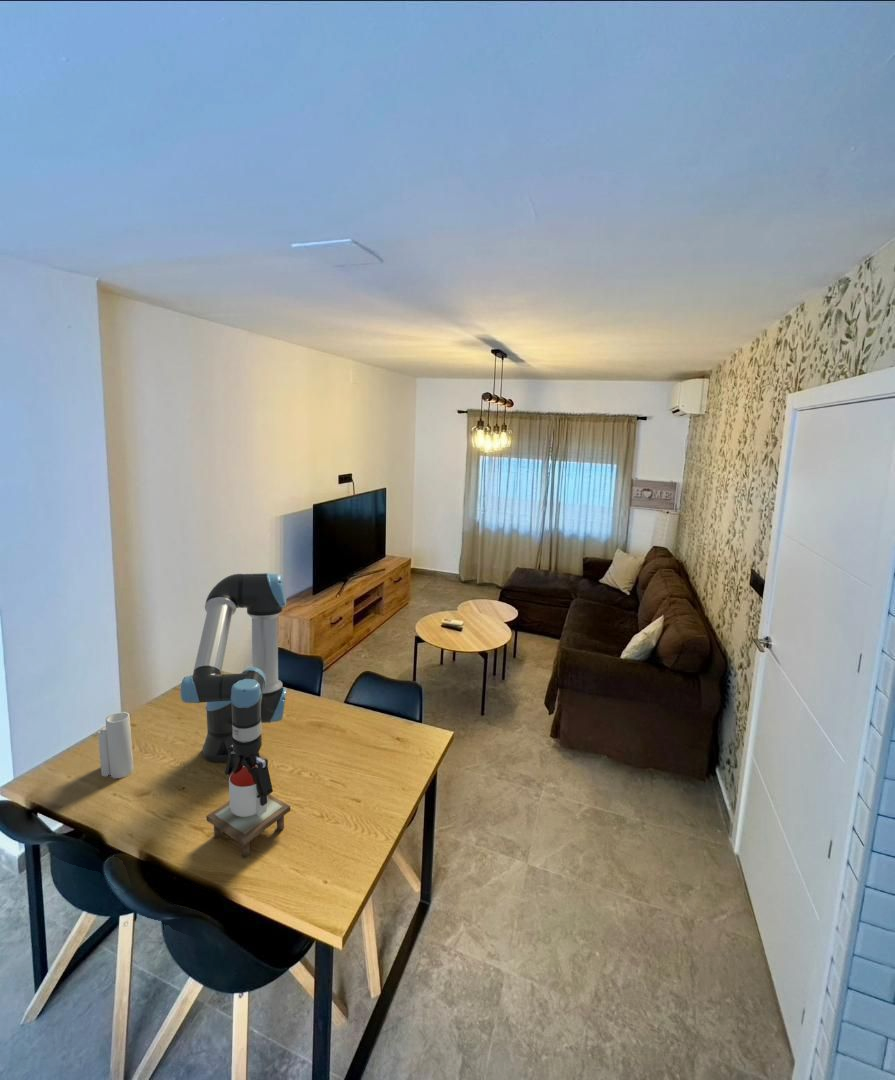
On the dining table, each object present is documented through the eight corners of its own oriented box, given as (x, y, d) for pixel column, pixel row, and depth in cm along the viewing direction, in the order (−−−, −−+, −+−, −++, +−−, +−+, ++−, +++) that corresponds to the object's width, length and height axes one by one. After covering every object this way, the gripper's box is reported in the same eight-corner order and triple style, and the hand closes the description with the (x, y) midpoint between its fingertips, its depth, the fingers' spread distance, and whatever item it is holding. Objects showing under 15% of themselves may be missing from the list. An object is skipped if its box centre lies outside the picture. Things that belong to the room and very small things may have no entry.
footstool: (207, 837, 149) (206, 815, 148) (254, 805, 163) (253, 784, 161) (244, 863, 141) (243, 839, 140) (290, 827, 155) (290, 805, 153)
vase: (138, 768, 177) (134, 714, 173) (119, 781, 170) (114, 725, 166) (113, 760, 180) (108, 707, 176) (93, 772, 173) (88, 717, 169)
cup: (271, 794, 156) (270, 764, 154) (262, 819, 146) (261, 787, 144) (236, 794, 155) (235, 764, 153) (225, 819, 145) (223, 787, 143)
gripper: (209, 728, 148) (212, 797, 153) (263, 756, 137) (265, 830, 142) (232, 716, 155) (234, 783, 159) (286, 743, 143) (286, 814, 148)
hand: (249, 805), depth 150 cm, fingers closed on cup, 10 cm apart
